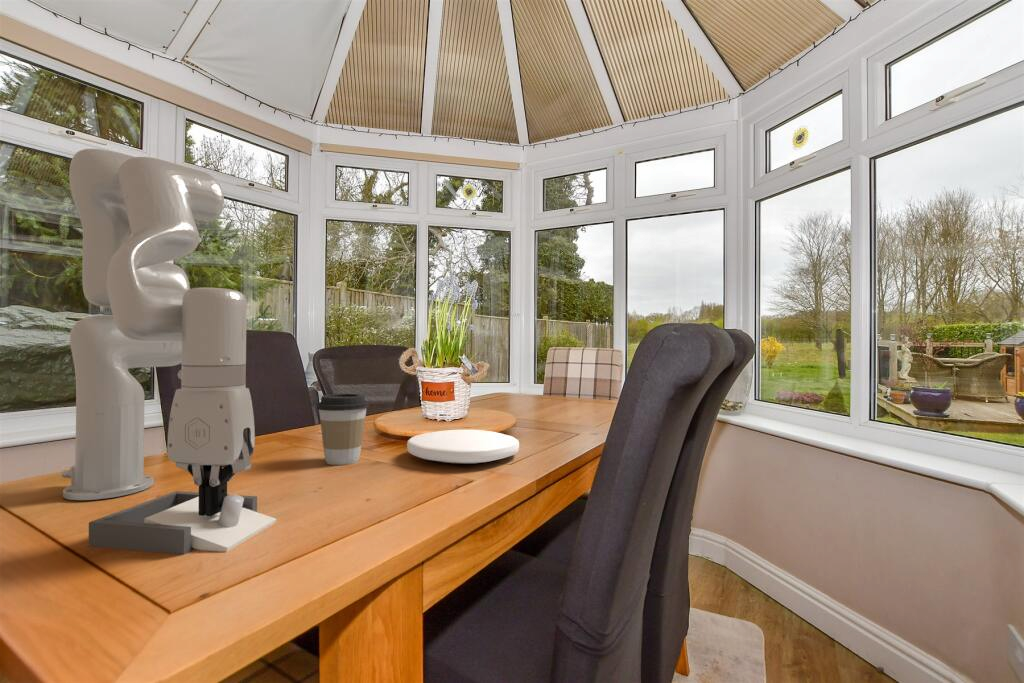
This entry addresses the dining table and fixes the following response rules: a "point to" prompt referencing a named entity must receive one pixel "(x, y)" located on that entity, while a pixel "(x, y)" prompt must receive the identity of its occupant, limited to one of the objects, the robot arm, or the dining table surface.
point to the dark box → (148, 527)
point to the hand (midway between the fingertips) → (212, 512)
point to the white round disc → (463, 446)
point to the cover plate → (215, 523)
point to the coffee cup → (342, 427)
